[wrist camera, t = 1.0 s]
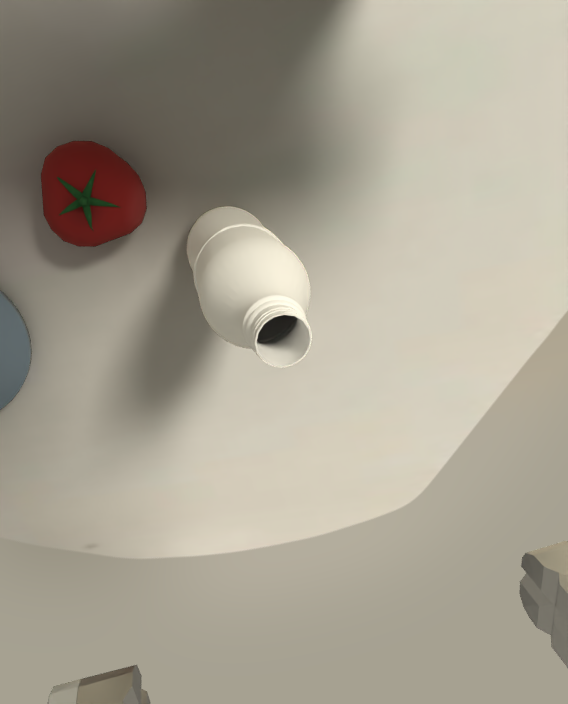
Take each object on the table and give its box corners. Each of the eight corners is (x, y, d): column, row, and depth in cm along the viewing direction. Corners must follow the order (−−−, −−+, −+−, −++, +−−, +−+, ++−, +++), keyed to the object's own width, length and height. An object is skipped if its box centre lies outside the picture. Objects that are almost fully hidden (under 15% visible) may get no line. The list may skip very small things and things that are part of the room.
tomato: (63, 244, 46) (48, 264, 40) (32, 147, 43) (11, 151, 37) (155, 227, 48) (155, 244, 41) (132, 131, 44) (129, 132, 38)
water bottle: (262, 278, 52) (347, 398, 29) (187, 282, 50) (214, 410, 28) (262, 201, 49) (356, 267, 26) (182, 202, 47) (208, 273, 25)
